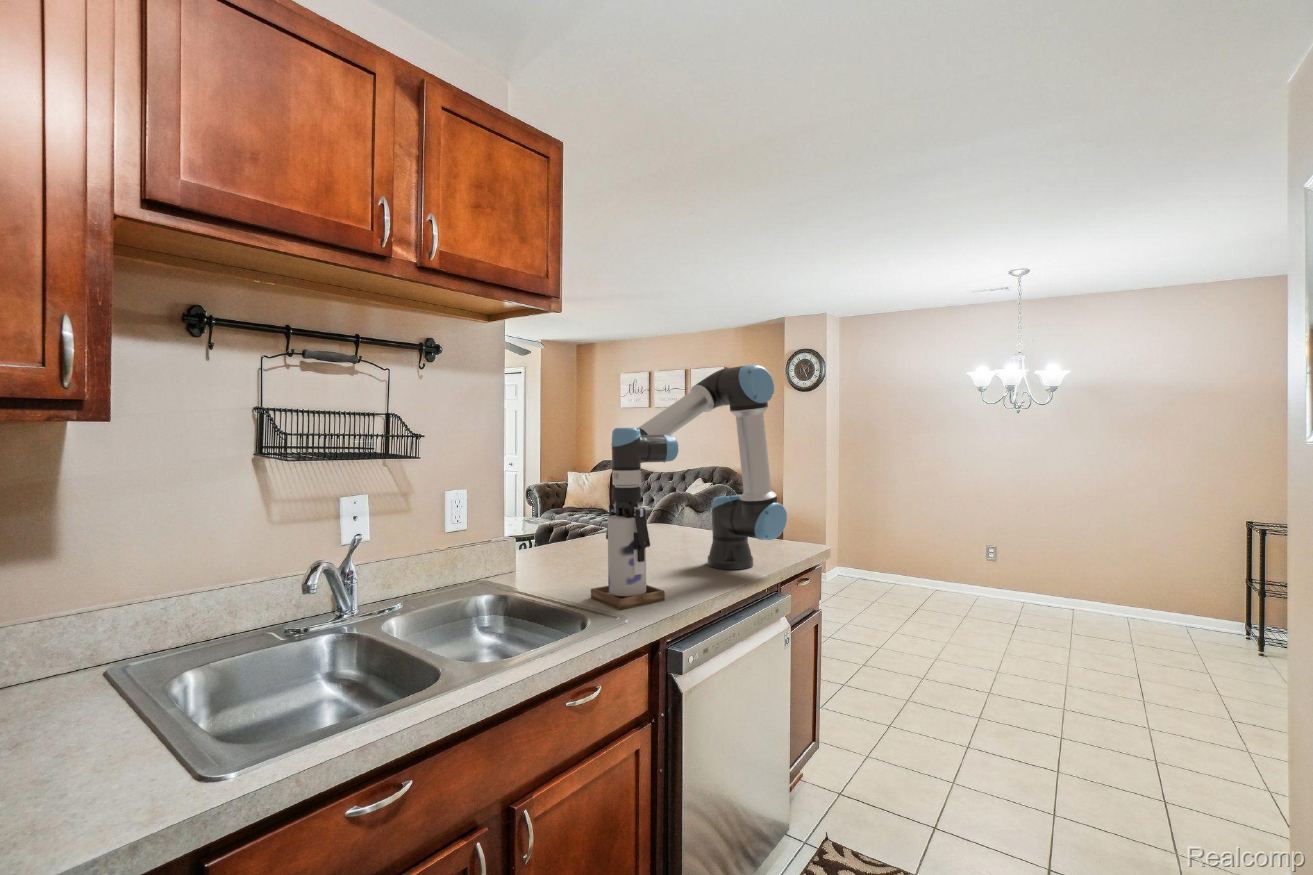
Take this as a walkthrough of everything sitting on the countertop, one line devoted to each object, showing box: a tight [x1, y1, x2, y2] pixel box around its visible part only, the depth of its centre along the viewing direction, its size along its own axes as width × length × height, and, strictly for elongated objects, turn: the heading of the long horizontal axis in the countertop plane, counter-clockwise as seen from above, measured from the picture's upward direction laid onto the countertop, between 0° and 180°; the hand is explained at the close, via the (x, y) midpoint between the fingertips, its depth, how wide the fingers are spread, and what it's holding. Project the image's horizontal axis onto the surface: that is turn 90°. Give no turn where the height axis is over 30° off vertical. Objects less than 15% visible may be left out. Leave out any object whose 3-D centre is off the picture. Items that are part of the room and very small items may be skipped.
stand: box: [590, 584, 666, 611], centre depth 158 cm, size 14×14×2 cm
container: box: [607, 515, 647, 596], centre depth 157 cm, size 10×10×20 cm
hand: (627, 570), depth 158 cm, fingers closed on container, 10 cm apart
